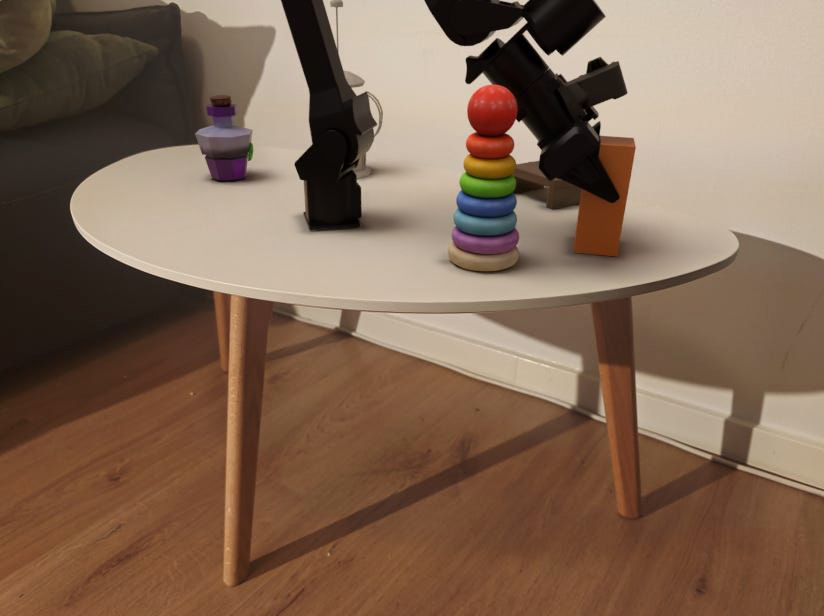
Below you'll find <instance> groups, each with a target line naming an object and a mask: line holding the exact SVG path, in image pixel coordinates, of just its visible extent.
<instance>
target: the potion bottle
mask: <svg viewBox="0 0 824 616" xmlns="http://www.w3.org/2000/svg"><path fill="white" fill-rule="evenodd" d="M209 101H210V103H209V104H207V105H206V107H205V108H206V114H207V116H210V117H212V123H213V125H210V126H206V127H202V128H199V129H198V130H197V131H196V132H195V133H194V135H195V138H196V141H197V144H198V146H199V150H200V152H201V155H202V156H204V159H205V163H206V165H207V168H208V171H209V174H210V177H211V179H210V180H212V181H215V182H218V183H236V182H239V181H240V182H241V181H244V180H246V179H247V177H248V175H247V169H248V162H251V161H252V159H253V157H254V144H253V143H252V140H253V139H252V138H253V131H254V130H253V129H250V128H248V127H243V126H239V125H236V124H234V118H233V117H235V116H237V114H238V108H237V107H238V106H237V104H235V103H232V96H231V95H227V94H216V95H213V96H209Z"/></svg>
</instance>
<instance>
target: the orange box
mask: <svg viewBox="0 0 824 616" xmlns="http://www.w3.org/2000/svg"><path fill="white" fill-rule="evenodd" d="M636 149H637V146H636V142H635V138H634V137H624V136H611V135H601V145H600V151H599V158H600V160H601V162H602V163H603V165H604V167H605V169H606V171H607V173H608V175H609V176H610V178H611V180H612V182H613V184H614V186H615V188H616V190H617V192H618V194H619V196H620V198H619V199H618V200H617V201H616V202H614V203H610V202H608V201H606V200H604V199H602V198H600V197H598V196H596V195H594V194H592V193H590V192H587V191H585V190H583V189H582V190H581V197H580V204H578V212H577V220H576V226H575V233H574V243H573V253H575V254H587V255H594V256H595V255H596V256H608V257H618V254H619V249H620V242H621V236H622V232H623V231H622V229H623V224H624V219H625V214H626V207H627V201H628V195H629V189H630V183H631V177H632V172H633V165H634V161H635V155H636Z"/></svg>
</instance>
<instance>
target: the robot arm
mask: <svg viewBox="0 0 824 616" xmlns="http://www.w3.org/2000/svg"><path fill="white" fill-rule="evenodd" d="M423 1H424V2H425V5H426V6H427V9H428V10H429V12H430V14H431V16H432V17H433V18H434V20H435V21H436V22H437V24H438V26H439V28H440V29H441V30H442V31H443V33H444V34H445V36H446V38H447V39H449V41H450V42H452V43H454V44H455V45H457V46H459V47H474V46H476V45H478V44H482V43H483V42H485V41H487V40H489V39H490V38H492V36H494V35H495V33H496V32H498V31H504V30H508V29H510V28H513V27H514V26H517V25H518V24H520V22H521V21H522V20H523V19H524V20H525V21H526V23H524V25H523V26H522V27H520V29H519V30H518V31H516V33H515V34H514V35H513V36H511V38H509V40H507V41H506V42H504V41H503V40H502V39H500V38H499V37H496V38H495V39H494V40H493V41H492V42H491V43H490V44H489V45H488V46H486V47H485V49H484V50H483V51H482V52H480V54H478V55H468V56H467V57H466V58H465V65H466V73H465V78H464V82H465V84H466V85H471V84H472V83H473V82H475V81H476V80H477V79H478V78H479V77H481V75H482V74H483V75H484V77H485V78H486V79H487V80H488V82H489V83H490V85H500V86H503V87H505V88H507V89H508V90H509V91H510V92H511V93H512V94H513V95H514V97H515V99H516V102H517V117H516V120H515V121H517V122H518V123H520V122H522V123H523V124H524V126H525V127H526V128H527V129H528V130H529V131H530V133H531V134H532V135H533V136H534V138H535V139H536V140H537V143H536V145H537V147H538V148H539V149H540V154H539V159H538V161H539V169H540V171H541V172H542V173H543V174H544V175H545V177H546V178H547V179H548V180H549V181H552V180H554V179H555V178H557V179H561V180H563V181H566V182H568V183H570V184H572V185H575V186H577V187H579V188H581V189H583V190H585V191H587V192H590V193H592V194H594V195H596V196H598V197H600V198H602V199H604V200H606V201H608V202H610V203H614V202H616V201H617V200H618V199H619V198H620V196H619V194H618V192H617V190H616V188H615V186H614V184H613V182H612V180H611V178H610V176H609V175H608V173H607V171H606V169H605V167H604V165H603V163H602V162H601V160H600V158H599V151H600V145H601V136H602V135H601V128H602V122H601V120H599V121H597V122H596V123H594V124H593V125H591V124H590V123H589V122H590V121H591V120H593V121H596V120H597V119H598V118H599V115H600V114H599V112H598V110H597V109H596V108H595V106H597V105H600V104H603V103H604V102H607V101H610V100H618V99H620V98H622V97H624V96H626V95H628V89H627V85H626V82H625V78H624V75H623V72H622V68H621V64H620V61H619V60H618V61H612V62H611V63H607V62H606V61H605V59H604V58H602V56H598V57H595V58H594V59H591V60H589V61H587V66H586V71H585V73H584V74H581V75H579V76H578V77H576V78H573V79H571V80H568V81H567V79H566V78H565V77H564V75H563V74H562V73H560V74H558V73H557V72H556V73H555V72H554V71H553V69H552V68H551V67H550V66H549V65H548V64H547V62H546V61H545V59H543V57H542V56H541V55H540V53H539V52H538V50H536V48H535V47H534V46H533V45H532V44H531V42H530V41H529V40H528V38H527V37H526V36H525V33H526V32H527V33H528V34H529V35H530V37H531V38H532V39H533V41H534V42H535V43H536V44H537V46H538V47H539V48H540V49H541V50H542V51H543V53H544V54H545V55H546V56H548V57H549V56H551V54H553V53H554V52H555V51H557V53H558V54H559V55H560V56H562V57H563V56H564V55H565V54H567V53H568V52H569V51H570V50H571V49H572V48H573V47H574V46H575V45H577V44H578V43H579V42H580V41H581V40H582V39H583V38H584V37H585V36H587V35H588V33H589V32H591V31H592V30H593V29H594V28H595V27H596V26H598V24H600V23H601V22H602V21H603V20H604V19H605V18H607V17H606V16H607V15H605V13H604V11H603V10H602V9H601V7H600V6H599V5H598V3H597V2H596V0H527V1H526V3H524V4H521V3H520V2H519V1H518V0H517V1H512V2H510V1H504V0H423ZM280 2H281V5H282V9H283V12H284V15H285V18H286V21H287V24H288V27H289V28H288V29H289V31H290V35H291V37H292V41H293V43H294V47H295V50H296V53H297V57H298V59H299V63H300V67H301V70H302V73H303V75H304V79H305V82H306V86H307V88H308V95H309V99H308V100H309V101H308V102H309V103H308V124H309V131H310V138H311V145H310V146H309V147H308V148H307V149H306V150H305V151H304V152H303V153H302V154H301V156H300V157H298V159H297V160H295V162H294V167H295V170H296V173H297V175H298V178H299V180H300V181H303V192H304V193H303V194H304V211H303V212H302V214H303V218H304V220H305V223H306V225H307V227H308V230H310V231H311V230H312V231H313V230H316V231H317V230H330V229H348V228H349V229H350V228H360V227H361V221H360V220H361V219H362V215H363V213H362V212H363V211H362V186H361V185H360V184H359V183H358V180H357V179H358V178H357V175H356V174H355V173H354V171H353V170H352V169H354V168H356V167H357V166H358V164H359V161H360V158H361V157H362V156H363V155H364V154H365V153H366V154H367V153H368V152H369V151H370V150H371V148H372V145H373V143H374V142H375V137H374V135H375V130H374V128H375V127H378V122H377V121H376V120H375V118H374V116H373V113H372V111H371V106H370V105H371V103H370V97H368V95H369V94H368V93H367V92H365V91H364V92H362V93H360V94H356V92H355V91H354V90H353V88H351V87H350V85H349V84H348V82H347V80H346V78H345V74H344V71H345V70H344V68H343V65H342V61H341V58H340V54H338V50H337V43H336V41H335V37H334V34H333V30H332V27H331V23H330V20H329V16H328V13H327V9H326V6H325V3H324V0H280Z"/></svg>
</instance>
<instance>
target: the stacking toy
mask: <svg viewBox="0 0 824 616" xmlns="http://www.w3.org/2000/svg"><path fill="white" fill-rule="evenodd" d="M466 109H467V110H466V115H467V119H468V122H469V125H470V126H471V128H472V129H473V130H474V131H475V132H473V133H471V134H469V135H468V137H467V138H466V141H465V148H466V150H467V152H468V153H469V154H467V155H466V156H465V158H464V160H463V169H464V172H462V174H461V176H460V178H459V187H460V189H461V190H460V191H459V192H458V193H457V195H456V199H455V201H456V206H457V208H456V209H455V211H454V212H453V216H452V220H453V224H454V227H453V228H452V231H451V240H452V242H451V243H450V244H449V246H448V248H447V256H448V259H449V260H450V261H451V262H452V263H453V264H454V265H456V266H457V267H459V268H462V269H466V270H470V271H476V272H497V271H502V270H506V269H509V268H511V267H513V266H514V265H515V264H516V263H517V262H518V260H519V257H520V250H519V247H518V245H519V241H520V232H519V230H518V229H517V228H516V226H517V223H518V216H517V214H516V212H515V209H516V208H517V204H518V199H517V197H516V195H515V193H513V191H514V189H515V187H516V179H515V177H514V176H513V175H512V174H513V173H514V171H515V169H516V164H517V161H516V159H515V157H513V156H512V155H511V154H512V152H513V151H514V150H515V140H514V138H513V137H512V136H511V135H510V134H508V133H507V132H509V131H510V129H512V127H513V125H514V124H515V122H516V121H517V120H516V117H517V102H516V99H515V97H514V95H513V94H512V93H511V92H510V91H509V90H508V89H507V88H505V87H503V86H500V85H492V84H486V85H483V86H481V87H479V88H478V89H477V90H475V91H474V93H472V95H471V97H470V99H469V100H468V103H467V107H466Z"/></svg>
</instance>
